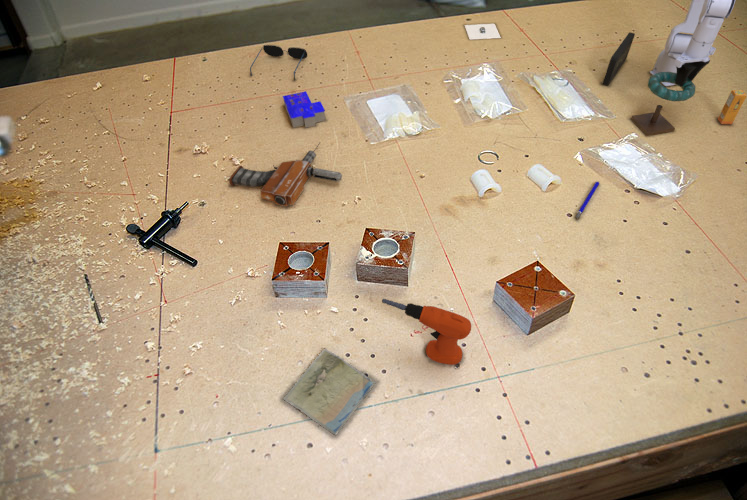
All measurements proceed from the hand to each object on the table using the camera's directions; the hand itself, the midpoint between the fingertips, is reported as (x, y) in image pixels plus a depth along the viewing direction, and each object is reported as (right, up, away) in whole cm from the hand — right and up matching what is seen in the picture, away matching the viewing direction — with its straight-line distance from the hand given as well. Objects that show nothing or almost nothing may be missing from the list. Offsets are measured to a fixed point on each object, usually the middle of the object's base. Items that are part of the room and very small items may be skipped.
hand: (683, 82), depth 157 cm
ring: (-4, -2, -1) cm, 5 cm away
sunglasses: (-127, +16, +34) cm, 133 cm away
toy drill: (-82, -71, -46) cm, 118 cm away
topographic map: (-102, -79, -51) cm, 139 cm away
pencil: (-36, -37, -17) cm, 55 cm away
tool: (-116, -29, -6) cm, 119 cm away
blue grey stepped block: (-115, -6, +14) cm, 116 cm away
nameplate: (-9, +11, +25) cm, 29 cm away
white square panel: (-50, +35, +48) cm, 78 cm away
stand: (-7, -12, +4) cm, 14 cm away
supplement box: (+15, -11, +4) cm, 19 cm away
